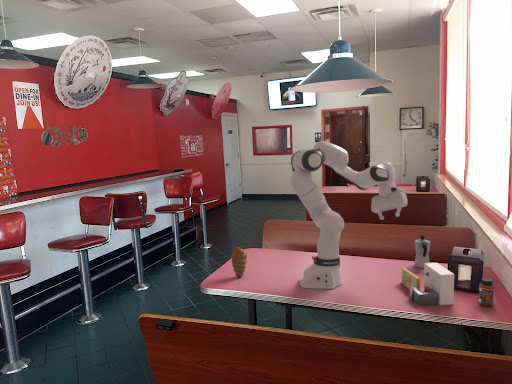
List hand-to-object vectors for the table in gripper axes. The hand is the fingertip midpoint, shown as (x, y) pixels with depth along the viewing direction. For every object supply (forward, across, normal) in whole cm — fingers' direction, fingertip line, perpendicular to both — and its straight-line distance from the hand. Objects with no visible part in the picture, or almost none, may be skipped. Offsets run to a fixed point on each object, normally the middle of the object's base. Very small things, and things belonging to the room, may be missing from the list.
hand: (389, 217), depth 203 cm
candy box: (+36, +4, +7) cm, 37 cm away
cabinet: (+40, +18, +7) cm, 44 cm away
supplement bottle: (+43, +35, +16) cm, 57 cm away
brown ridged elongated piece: (+31, -66, -48) cm, 87 cm away
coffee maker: (+21, -7, +39) cm, 45 cm away
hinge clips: (+42, +15, 0) cm, 44 cm away
